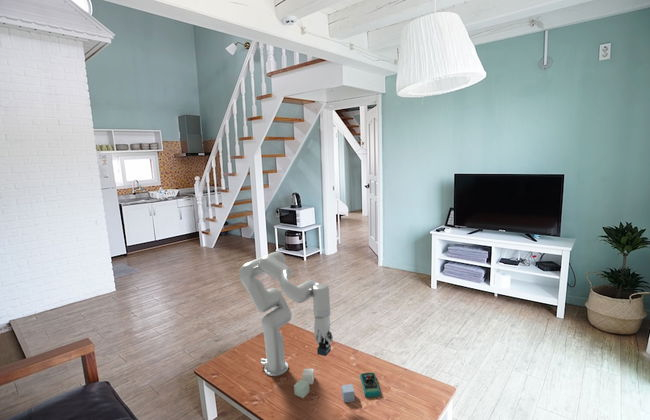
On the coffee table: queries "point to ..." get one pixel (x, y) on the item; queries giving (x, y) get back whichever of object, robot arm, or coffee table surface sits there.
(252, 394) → the coffee table surface
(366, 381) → the digital multimeter
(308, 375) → the cream cube
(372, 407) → the coffee table surface
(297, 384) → the sage cube
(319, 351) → the watch
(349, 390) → the slate cube
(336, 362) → the coffee table surface
